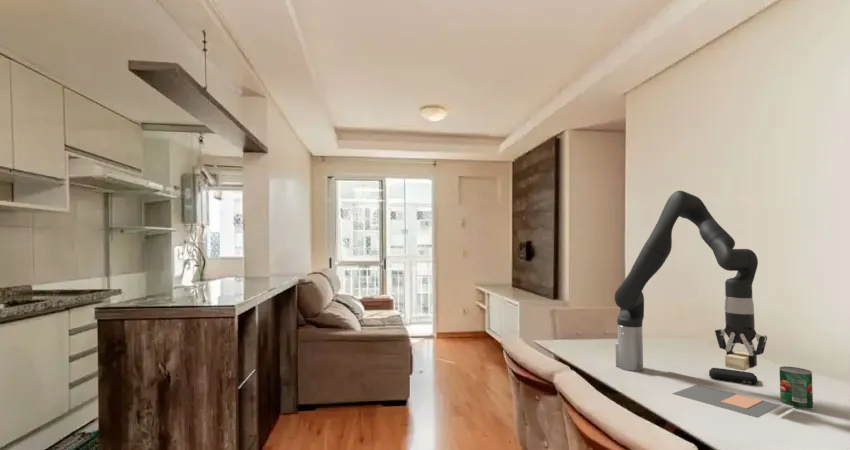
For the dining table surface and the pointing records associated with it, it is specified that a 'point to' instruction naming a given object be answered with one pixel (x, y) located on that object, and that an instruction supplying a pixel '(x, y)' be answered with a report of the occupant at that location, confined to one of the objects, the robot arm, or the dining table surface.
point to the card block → (738, 361)
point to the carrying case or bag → (733, 376)
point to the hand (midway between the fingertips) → (741, 365)
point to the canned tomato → (796, 387)
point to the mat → (728, 400)
